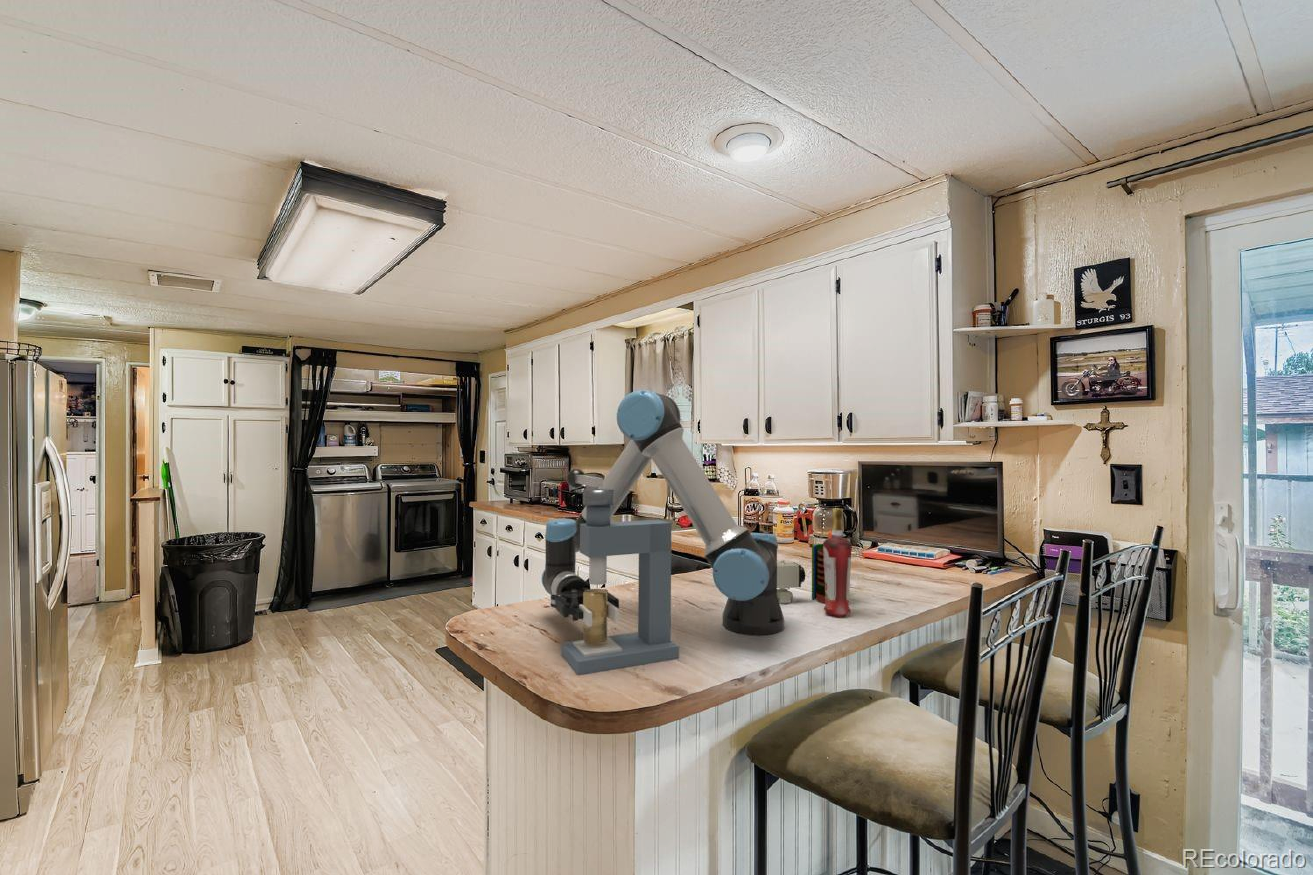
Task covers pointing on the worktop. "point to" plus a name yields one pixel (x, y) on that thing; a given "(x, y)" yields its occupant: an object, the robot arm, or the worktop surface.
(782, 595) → the pneumatic valve
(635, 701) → the worktop surface
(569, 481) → the lever
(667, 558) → the press frame
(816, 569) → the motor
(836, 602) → the liquor
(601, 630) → the cylinder
